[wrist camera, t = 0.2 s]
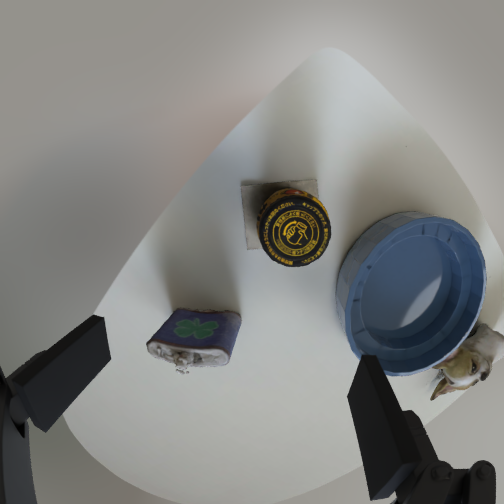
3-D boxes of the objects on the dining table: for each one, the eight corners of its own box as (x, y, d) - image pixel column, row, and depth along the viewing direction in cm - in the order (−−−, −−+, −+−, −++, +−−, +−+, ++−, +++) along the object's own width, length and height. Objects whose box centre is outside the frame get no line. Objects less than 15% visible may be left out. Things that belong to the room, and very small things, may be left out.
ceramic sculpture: (517, 372, 23) (441, 426, 27) (493, 346, 32) (426, 391, 36) (518, 324, 22) (432, 387, 26) (488, 300, 30) (412, 351, 34)
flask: (242, 310, 34) (225, 359, 24) (242, 331, 35) (227, 383, 24) (172, 305, 35) (135, 347, 25) (174, 325, 36) (140, 370, 25)
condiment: (321, 243, 31) (343, 276, 20) (247, 249, 32) (229, 284, 21) (316, 179, 30) (338, 175, 18) (240, 185, 31) (217, 185, 19)
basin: (348, 199, 30) (363, 203, 24) (473, 224, 28) (499, 231, 23) (321, 348, 34) (327, 376, 29) (438, 350, 33) (456, 371, 27)
